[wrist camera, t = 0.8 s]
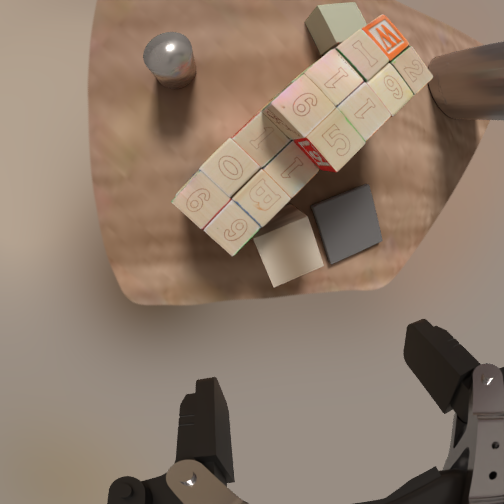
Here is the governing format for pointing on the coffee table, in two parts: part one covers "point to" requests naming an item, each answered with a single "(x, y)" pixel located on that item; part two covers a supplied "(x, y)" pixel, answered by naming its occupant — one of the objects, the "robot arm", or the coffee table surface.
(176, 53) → the grey capsule
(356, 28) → the sage green block
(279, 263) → the cream block
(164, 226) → the coffee table surface
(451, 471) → the robot arm
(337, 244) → the charcoal pad
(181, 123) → the coffee table surface
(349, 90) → the stack of blocks
